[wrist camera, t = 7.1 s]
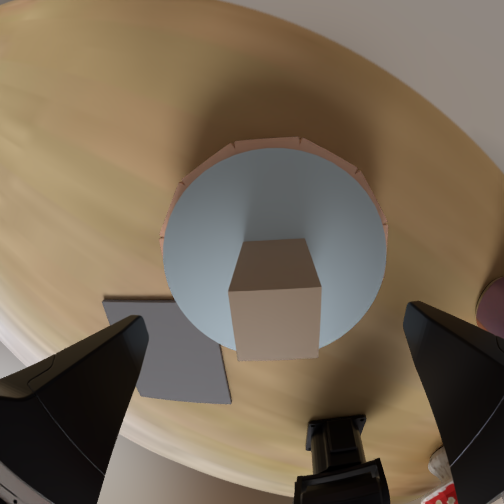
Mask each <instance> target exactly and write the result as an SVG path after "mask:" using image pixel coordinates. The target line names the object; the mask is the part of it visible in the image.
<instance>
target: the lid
mask: <svg viewBox="0 0 504 504" xmlns="http://www.w3.org/2000/svg"><path fill="white" fill-rule="evenodd" d="M163 263H164V270H165V275H166V279H167V282H168V286H169V288H170V290H171V293H172V295H173V297H174V299H175V301H176V303H177V304H178V306H179V308H180V309H181V311H182V312H183V313H184V314H185V316H186V317H187V318H188V320H189V321H190V322H191V323H192V324H193V325H194V326H195V327H196V328H197V329H199V330H200V331H201V332H202V333H204V334H205V335H206V336H208V337H209V338H211V339H212V340H214V341H216V342H217V343H219V344H221V345H223V346H225V347H227V348H229V349H232V350H235V351H236V352H237V358H238V361H269V360H292V359H308V358H318V354H319V348H321V347H324V346H326V345H328V344H330V343H332V342H333V341H335V340H337V339H338V338H340V337H341V336H343V335H344V334H345V333H347V332H348V331H349V330H350V329H351V328H352V327H354V326H355V325H356V324H357V323H358V322H359V321H360V319H361V318H362V317H363V316H364V315H365V313H366V312H367V311H368V309H369V308H370V306H371V304H372V303H373V301H374V300H375V297H376V295H377V293H378V291H379V289H380V286H381V283H382V279H383V276H384V271H385V265H386V240H385V233H384V229H383V225H382V221H381V218H380V216H379V214H378V211H377V209H376V207H375V205H374V203H373V202H372V200H371V199H370V197H369V195H368V194H367V192H366V191H365V190H364V189H363V188H362V186H361V185H360V184H359V183H358V182H357V181H356V180H355V179H354V178H353V177H352V176H350V175H349V174H348V173H347V172H346V171H345V170H343V169H341V168H340V167H338V166H337V165H335V164H334V163H332V162H330V161H328V160H326V159H324V158H322V157H320V156H317V155H314V154H311V153H307V152H304V151H300V150H294V149H287V148H264V149H257V150H250V151H247V152H243V153H240V154H236V155H233V156H231V157H229V158H227V159H224V160H222V161H220V162H218V163H217V164H215V165H213V166H212V167H210V168H209V169H207V170H206V171H204V172H203V173H202V174H201V175H200V176H199V177H197V178H196V179H195V180H194V181H193V182H192V183H191V184H190V185H189V187H188V188H187V189H186V190H185V191H184V192H183V194H182V195H181V197H180V199H179V200H178V202H177V203H176V205H175V207H174V209H173V211H172V213H171V215H170V218H169V221H168V224H167V227H166V231H165V236H164V244H163Z"/></svg>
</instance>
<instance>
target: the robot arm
mask: <svg viewBox="0 0 504 504" xmlns="http://www.w3.org/2000/svg"><path fill="white" fill-rule="evenodd" d="M403 329H404V332H405V335H406V338H407V342H408V345H409V348H410V352H411V355H412V358H413V361H414V364H415V367H416V370H417V372H418V375H419V377H420V380H421V382H422V385H423V387H424V390H425V392H426V395H427V398H428V400H429V403H430V406H431V409H432V411H433V414H434V417H435V420H436V423H437V426H438V429H439V432H440V435H441V439H442V442H443V445H444V448H445V452H446V455H447V459H448V462H449V466H450V471H451V474H452V478H453V483H454V487H455V491H456V496H457V500H458V504H491V503H492V502H494V501H496V500H497V499H499V498H500V497H502V499H503V501H504V339H503V338H501V337H499V336H497V335H496V336H495V335H494V334H492V333H490V332H488V331H486V330H484V329H481V328H479V327H477V326H475V325H473V324H470V323H468V322H466V321H464V320H461V319H459V318H457V317H455V316H453V315H450V314H448V313H446V312H444V311H441V310H439V309H437V308H434V307H432V306H430V305H428V304H425V303H423V302H421V301H413V302H409V303H408V304H407V307H406V312H405V317H404V322H403ZM148 342H149V334H148V331H147V328H146V324H145V321H144V318H143V317H142V316H141V315H130V316H128V317H126V318H124V319H122V320H120V321H118V322H116V323H114V324H112V325H110V326H108V327H106V328H104V329H103V330H101V331H99V332H97V333H95V334H93V335H91V336H89V337H87V338H85V339H83V340H81V341H79V342H77V343H75V344H73V345H71V346H70V347H68V348H66V349H64V350H62V351H60V352H58V353H56V354H54V355H52V356H50V357H48V358H46V359H44V360H42V361H40V362H38V363H36V364H34V365H31V366H29V367H27V368H25V369H23V370H20V371H18V372H16V373H13V374H11V375H9V376H6V377H4V378H1V379H0V504H97V502H98V498H99V495H100V491H101V488H102V484H103V481H104V478H105V476H104V475H105V474H106V470H107V467H108V464H109V461H110V458H111V455H112V451H113V448H114V445H115V442H116V439H117V436H118V433H119V431H120V428H121V425H122V422H123V419H124V416H125V413H126V411H127V408H128V405H129V402H130V400H131V397H132V394H133V392H134V389H135V386H136V384H137V381H138V378H139V375H140V372H141V368H142V365H143V361H144V357H145V353H146V350H147V346H148ZM365 422H366V416H365V415H358V416H351V417H344V418H336V419H327V420H317V421H311V422H309V423H308V430H307V439H306V450H307V451H311V452H312V465H313V475H307V476H297V482H295V493H294V499H293V503H292V504H390V495H389V489H388V485H387V481H386V478H385V474H384V471H383V467H382V464H381V461H380V458H377V459H375V460H373V461H369V462H366V460H365V455H364V450H363V445H362V441H361V433H362V430H363V427H364V425H365Z"/></svg>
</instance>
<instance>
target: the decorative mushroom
mask: <svg viewBox="0 0 504 504" xmlns="http://www.w3.org/2000/svg"><path fill="white" fill-rule="evenodd" d="M428 468H429V470H430V472H431V473H432V474H434V475H435V476H437V477H438V478H439V479H440V480H441V482H442V484H440V485H439V486H437V487H436V488H434V489H433V490H431V491H430V492H429V493H427V494H426V495H425V496H424V497H423V498H422V500H421V504H458V500H457V496H456V491H455V487H454V483H453V478H452V474H451V471H450V466H449V462H448V459H447V455H446V452H445V448H444V446H443V447H442V448H440V449H439V450H437V451H436V452H435V453H434V454H433V455H432V456H431V458H430V461H429V464H428Z"/></svg>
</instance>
